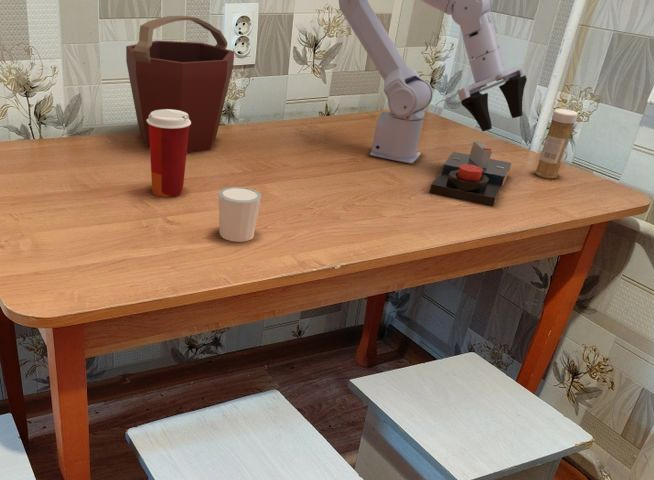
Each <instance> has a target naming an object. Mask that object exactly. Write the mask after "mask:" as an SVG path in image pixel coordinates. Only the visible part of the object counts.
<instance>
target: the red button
mask: <svg viewBox="0 0 654 480" xmlns="http://www.w3.org/2000/svg"><path fill="white" fill-rule="evenodd" d="M482 172H483V169H482V168H481V167H478V166H475V165H470V164H463V165H460V166H459V170H458V174H457V177H459V178H461V179H464V180H469V181H480V179H481V176H482Z"/></svg>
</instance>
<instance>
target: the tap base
mask: <svg viewBox="0 0 654 480" xmlns="http://www.w3.org/2000/svg"><path fill="white" fill-rule="evenodd" d="M469 157H470V154H467V153H462V152H456V151H452V153H451V154H450V155H449V156H448V158H447V159H446V161H445V162H444V163H443V165H442V168H441V173H443V174H448V175H449V173H450V172H451V171H455V170H459V166H460V165H463V164H470V165H475V166H477V165H476V164H475V163H474V162H473V161H472V160H470V159H469ZM511 166H512V162H509V161H503V160H499V159H493V158H490V160H489V164H488V167H487V168H482V169H483V172H482V174H483V175H486V176H487V177H488V178H489V181H488V183H492V184H497V185H501V189H500V192H501V191H502V189H503V187H504V185H505V183H506V180H507V179H508V176H509V173H510V169H511Z"/></svg>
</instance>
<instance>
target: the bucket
mask: <svg viewBox="0 0 654 480" xmlns="http://www.w3.org/2000/svg"><path fill="white" fill-rule="evenodd" d="M177 21H178V22H180V21H191V22H193V23H195V24H196V25H199V26H201V27H202V28H203V29H205V30H206V31H208V32H210V34H211V35H212V37H213V38H214V40H215V42H216V44H215V45H212V44H209V43H205V42H196V41H195V42H194V41H175V40H153V37H154V36H153V35H154V30H156V29H158V28H160V27H162V26H164V25H167V24H171V23H174V22H177ZM228 44H229V43H228V41H227V39H226V37H225V36H224V34H223V33H222V31H221V30H220V29H218V28H217V27H214V26H213V25H212V24H211V23H209V22H207V21H205V20H202V19H200V18H198V17H195V16H190V15H168V16H163V17H159V18H154V19H152V20H149V21H147V22H144V23H143V24H141V25H140V26H139V33H138V41H137V43H136V44H135V43H134V44H130V45H126V46H125V59H126V60H125V61H126V67H127V73H128V78H129V84H130V89H131V92H132V93H131V95H132V101H133V105H134V111H135V115H136V121H137V127H138V131H139V137H140V139H141V141H142V142H143V143H144V145H145V146H146V148H148V149H150V138H149V124H148V123H147V121H146V120H147V119H148V118H149V115H150V113H151V112H152V111H155V110H161V109H172V110H179V111H183V112H186V113H187V114H188V115H189V120H190V121H191V125H189V133H188V145H187V153H192V152H200V151H210V150H211V149H212V147H213V145H214V143H215V141H216V140H217V136H218V135H217V134H218V132H219V131H218V130H219V127H220V123H221V119H222V114H223V110H224V106H225V102H226V98H227V93H228V90H229V86H230V81H231V78H232V73H233V69H234V63H235V62H234V61H235V51H234V50H232V49H227V48H228Z"/></svg>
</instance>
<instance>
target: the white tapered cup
mask: <svg viewBox="0 0 654 480" xmlns="http://www.w3.org/2000/svg"><path fill="white" fill-rule="evenodd" d="M261 200H262V194H261V193H260V192H259V191H258V190H255V188H254V189H253V188H250V187H244V186H228V187H224V188H222V189H220V190H219V192H218V218H219V219H218V220H219V221H218V222H219V223H218V225H219V236H220V237H221V238H223V239H224V240H226V241H230V242H236V243H243V242H248V241H251V240H253V238H254V236H255V233H256V232H255V230H256V227H257V221H258V215H259V210H260V206H261Z"/></svg>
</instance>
